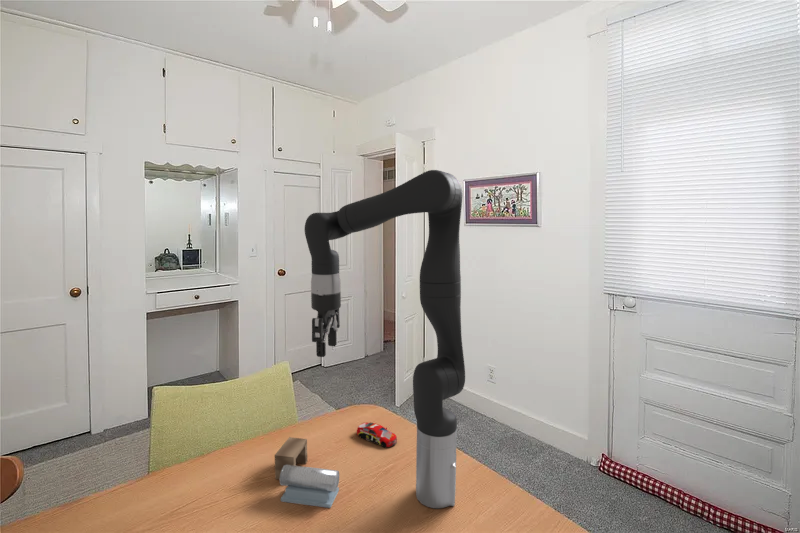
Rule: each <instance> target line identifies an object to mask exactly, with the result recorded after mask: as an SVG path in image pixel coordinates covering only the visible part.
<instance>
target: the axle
mask: <svg viewBox="0 0 800 533" xmlns="http://www.w3.org/2000/svg"><path fill="white" fill-rule="evenodd" d="M339 483H340V471H339V470H338V469H337V470H335V469H327V468H321V467H320V468H319V467H318V468H317V467H310V466H303V465H296V466H295V465H286V464H285V465H284V466H283V468H282V470H281V473H280V479H279V484H280V486H286V487H287V486H292V487H300V488H308V489H316V490H324V491H332V492H335V491H336V490H337V487H339Z"/></svg>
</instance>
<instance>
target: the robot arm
mask: <svg viewBox="0 0 800 533" xmlns="http://www.w3.org/2000/svg"><path fill="white" fill-rule="evenodd" d="M463 195H464V194H463V187H462V184H461V183H460V181H459V179H458V178H457V177H456V176H454V175H453V174H451V173H449V172H445V171H442V170H437V169H429V170H426V171H424V172H422V173H421V174H419V175H417V176H415V177H413V178H411V179H410V180H407V181H406V182H404V183H402V184H400V185H398V186H396V187H394V188H392V189H389V190H386V191H384V192H382V193H378V194H376V195H373V196H370V197H366V198H364V199H360V200H356V201H354V202H350V203H348V204H346V205H344V206H341V208H339V210H337V211H333V212H313V213H311V214H310V215H309V216H308V217H307V218H306V220H305V224H304V236H305V239H306V243H307V246H308V247H307V248H308V251H309V253H310V257H311V280H310V292H311V293H310V297H311V298H310V299H311V300H310V302H311V309H312V310H314V311H316V312H317V315H316V317H312V318H311V342H312V343H316V349H315V350H316V352H315V353H316V356H317V357H319V358H324V357H326V355H327V351H326V350H327V348H326V347H327V346H326V344H327V345H328V346H329V347H336V346H337V342H338V341H337V339H338V338H337V333H338V331H339V328H340V326H341V325H340V323H341V322H340V308H341V306H342V304H341V303H342V299H341V298H342V296H341V293H342V292H341V288H342V287H341V277H340V256H339V252H338V251H336V250H334V249H332V248H331V244H330V241H334V240H338V239H342V238H344V237H347V236H349V235H350V234H353V233H357V232H363V231H365V230H369V229H372V228H375V227H378V226H380V225H382V224H384V223H386V222H387V221H390V220H393V219H394V218H398V217H401V216H404V215H410V214H421V213H422V214H423V213H427V216H428V238H427V243H426V248H425V250H424V254H423V258H422V262H421V266H420V269H419V270H420V271H419V300H420V304H421V308H422V311H423V312H424V315H426V318H427V319H428V321H429V323H430V324H431V326H432V327H433V330H434V333H435V334H436V341H437V342H436V343H437V356H436V358H433V359H428V360H426V361H423V362H420V363H419V364H417V365H416V367H415V368H414V370H413V374H412V394H413V395H412V396H413V411H414V416H415V419H416V450H415V451H416V455H415V456H416V458H415V459H416V460H415V461H416V465H415V469H416V470H415V472H416V473H415V477H416V480H415V496H416V499H417V501H418V502H419V503H420V504H422V505H423V506H425V507H427V508H431V509H443V508H446V507H447V508H448V507H450V506H451V507H454V506H455V504H456V490H457V489H456V487H457V484H456V481H457V476H456V475H457V436H458V435H457V433H458V432H457V428H458V420H457V419H458V418H457V416H456V414H455V413H454V412H453V410H450V409H449V408H447V407H444V406H443V401H444V400H447V399H449V398H452V397H454V396H457V395H459V394H460V393H461V392H462V391H463V390H464V387H465V384H466V383H465V382H466V366H465V365H466V364H465V357H464V349H463V340H462V337H463V336H462V317H461V315H462V314H461V313H462V311H461V302H462V301H461V298H462V297H461V296H462V291H461V290H462V285H461V283H462V282H461V281H462V279H461V278H462V276H461V251H460V250H461V248H460V246H461V245H460V231H461V230H460V226H461V215H462V207H463V206H462V205H463ZM326 341H327V343H326Z"/></svg>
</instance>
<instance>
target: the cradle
mask: <svg viewBox="0 0 800 533" xmlns="http://www.w3.org/2000/svg"><path fill="white" fill-rule="evenodd" d="M339 490H340V487H339V486H338V487H337V490H336V491H335V492H332V491H324V490H316V489H308V488H300V487H292V486H286V488H285V491H284V493H283V494H282V495H281V497H280V502H282V503H283V502H284V503H291V504H297V505H305V506H313V507H322V508H328V509H331V508H332V506H333V503H334V502H335V499H336V497H337V495H338V493H339V492H340V491H339Z"/></svg>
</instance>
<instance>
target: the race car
mask: <svg viewBox="0 0 800 533" xmlns="http://www.w3.org/2000/svg"><path fill="white" fill-rule="evenodd" d="M356 435H357V437H360V439H362V440H365V441H368V442H370V443H373V444H375V445H378V446H381V447H382V448H384V449H386V448H390V447H391V448H392V447H393V446H395V445H396V444H397V442H398V437H397V435H396V434H395V433H393V432H392V431H390V430H388V427H385V426H383V425H381V424H378V423H377V422H376V423H375V422H362V423H361V424H359V425H358V426H357V429H356Z"/></svg>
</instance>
